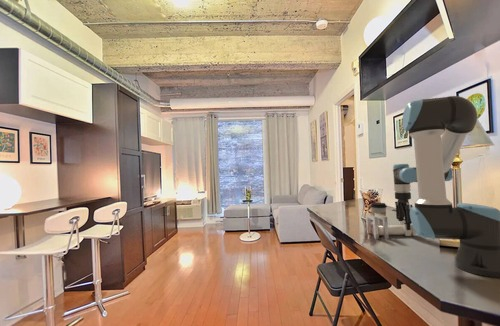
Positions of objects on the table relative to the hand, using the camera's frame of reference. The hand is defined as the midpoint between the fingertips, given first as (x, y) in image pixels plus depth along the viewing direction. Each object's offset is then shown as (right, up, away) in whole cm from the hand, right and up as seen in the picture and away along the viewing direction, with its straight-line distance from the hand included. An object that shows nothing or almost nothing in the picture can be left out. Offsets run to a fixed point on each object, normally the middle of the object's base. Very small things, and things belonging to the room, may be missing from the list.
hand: (405, 234), depth 131 cm
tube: (-6, -1, +1) cm, 6 cm away
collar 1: (-17, -1, +2) cm, 17 cm away
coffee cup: (-5, -1, +18) cm, 18 cm away
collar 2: (-12, -1, +1) cm, 12 cm away
